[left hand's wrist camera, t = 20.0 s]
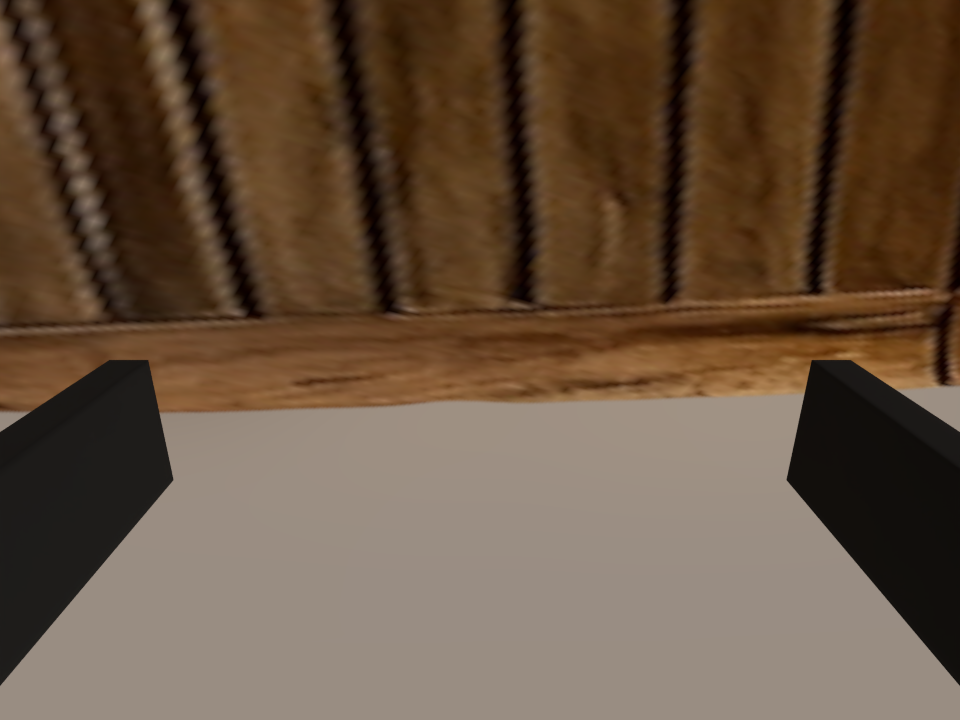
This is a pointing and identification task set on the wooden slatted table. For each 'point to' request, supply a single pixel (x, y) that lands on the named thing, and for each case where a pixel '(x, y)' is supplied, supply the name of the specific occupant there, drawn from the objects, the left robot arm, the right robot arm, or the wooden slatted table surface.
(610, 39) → the wooden slatted table surface
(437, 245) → the wooden slatted table surface
